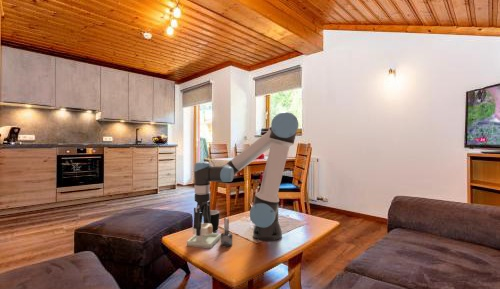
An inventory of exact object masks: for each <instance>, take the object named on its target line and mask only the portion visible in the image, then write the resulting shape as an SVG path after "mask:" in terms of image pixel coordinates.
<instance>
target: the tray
mask: <svg viewBox="0 0 500 289" xmlns="http://www.w3.org/2000/svg"><path fill="white" fill-rule="evenodd" d="M221 234H222V233H216V232H213V233H212V234H209V236H203V235H202V242H197V241H196V234H193V235H192V236H191V237H190V238H189V239H187V241H186V246H187V247H194V248H195V247H196V248H205V249H212V248H213V247H214V246H215V245H216V243H218V242H219V241H221Z"/></svg>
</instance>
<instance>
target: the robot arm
mask: <svg viewBox="0 0 500 289" xmlns="http://www.w3.org/2000/svg"><path fill="white" fill-rule="evenodd" d="M298 120H299V119H298V118H297V116H296V115H294V113H292V112H288V111H281V112H279V113H277V114H276V115H274V117H273V118H272V120H271V124H270V127H269V128H268V131H267V132H266V133H264V134H263V135H261V137H259V138H258V139H257V140H255V141H253V143H251V144H250V145H248V146H247V147H246V148H244V149H243V151H241V152H240V153H238V154H237V155H236V156H234V157H233V158H231V160H229V161H227V163H225V164H223V165H220V166H218V165H217V166H215V165H213V166H211V164H210V162H208V161H197V162H195V163H194V165H193V167H194V170H193V175H194V176H193V177H194V187H193V188H194V201H195V203H197V204H196V207H193V227H194V229H196V241H197V242H202V228H201V224H202V223H204V222H205V223H210V222H211V221H209V220H211V215H210V210H211V194H210V192H211V187H210V186H211V185H210V183H211V182H213V183H214V182H218V183H219V182H220V183H232V181H233V180H234V178H235V176H236V174H238V173H239V172H240V171H241V170H242V169H243V170H244V169H245V168H246V167H247V166H249V164H251V163H252V162H253V161H255V160H257V158H259V157H260V156H261V155H263V154H264V153H265V152H267V151H268V150H269V152H268V154H267V160H266V163H265V168H264V172H263V176H262V180H261V185H260V188H259V191H258V192H256V193H255V194H254V197H253V198H254V199H253V203H252V206H251V208H250V210H249V218H250V219H249V220H250V221H251V222H252V223H253V225H254V228H253V232H252V234H253V235H252V236H253V237H254V239H256V238H257V239H256V240H258V239H259V241H263V242H274V241H277V240H280V239H281V238H282V237H283V236H282V235H283V232H282V228H281V225H280V221H279V202H280V198H279V190H280V186H281V182H282V178H283V174H284V170H285V167H286V166H285V165H286V163H287V158H288V153H289V150H290V147H291V146H293V145H294V144H295V139H296V136H297V131H298V129H299V121H298ZM203 236H209V234H207V235H203Z"/></svg>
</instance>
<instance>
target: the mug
mask: <svg viewBox="0 0 500 289" xmlns="http://www.w3.org/2000/svg"><path fill="white" fill-rule="evenodd" d="M210 215H211V220H209V221H211V222H210V223H209V224H212V226H213V233H216V232H217V231H218V228H219V225H220V211H219V210H215V209H210ZM203 223H205V222H204V221H203Z"/></svg>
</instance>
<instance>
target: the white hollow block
mask: <svg viewBox="0 0 500 289" xmlns="http://www.w3.org/2000/svg"><path fill="white" fill-rule="evenodd" d="M201 228H202V235H207V234H212V233H214V232H213V226H212V224H209V223H204V222H202V224H201ZM195 234H196V229H194V226H192V235H195Z"/></svg>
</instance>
